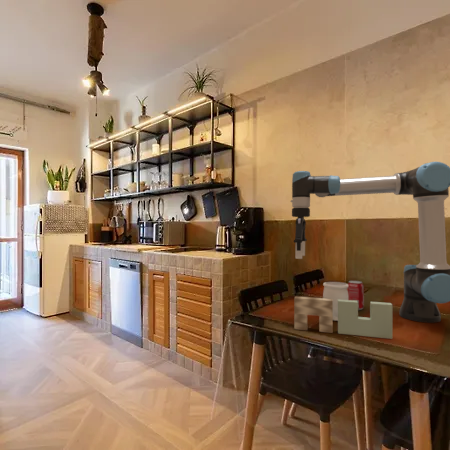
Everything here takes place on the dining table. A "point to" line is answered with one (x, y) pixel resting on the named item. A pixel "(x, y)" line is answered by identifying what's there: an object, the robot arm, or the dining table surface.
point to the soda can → (356, 293)
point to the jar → (335, 294)
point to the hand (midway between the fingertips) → (300, 257)
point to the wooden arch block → (313, 312)
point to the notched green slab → (365, 319)
